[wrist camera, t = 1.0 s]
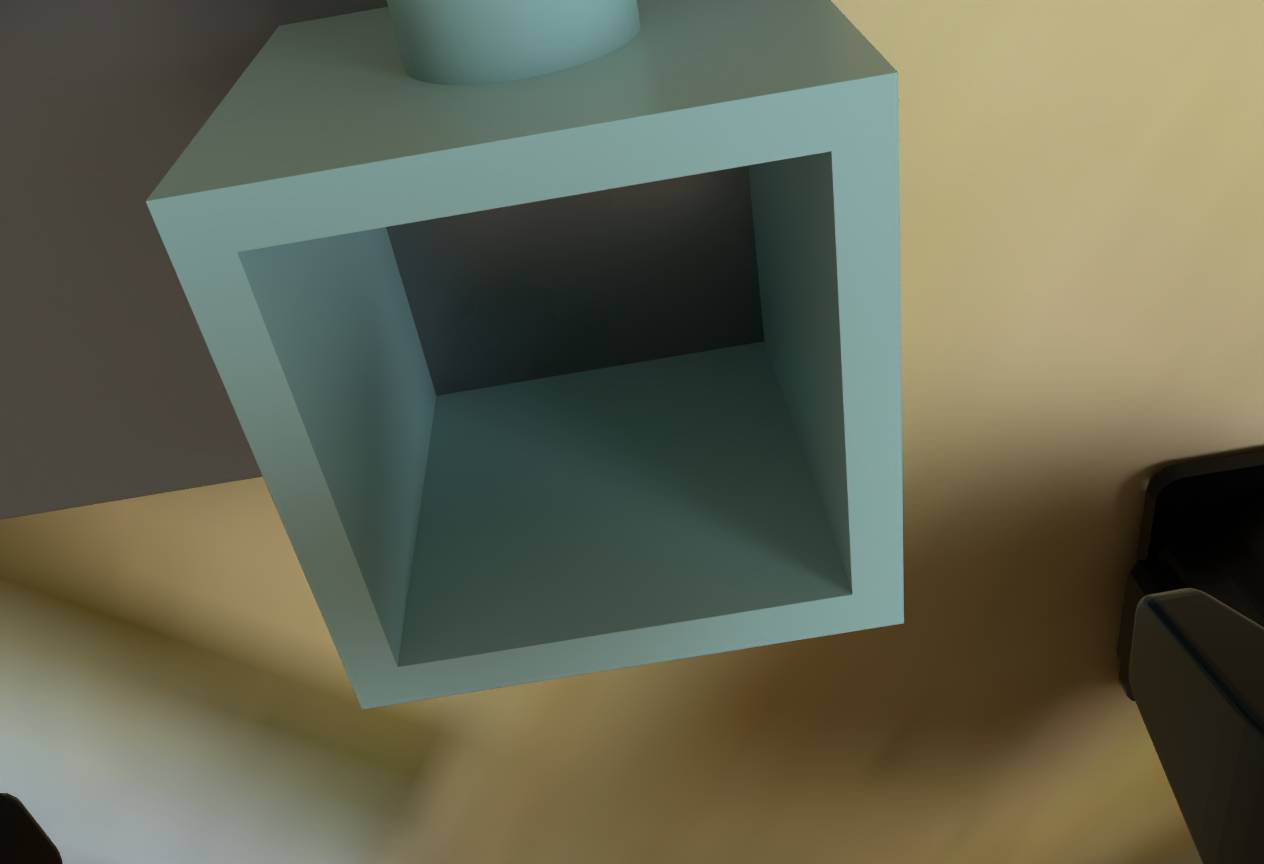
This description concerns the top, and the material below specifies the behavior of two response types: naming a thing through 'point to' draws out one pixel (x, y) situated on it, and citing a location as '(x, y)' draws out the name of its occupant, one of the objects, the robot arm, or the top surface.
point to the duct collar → (572, 403)
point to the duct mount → (159, 310)
